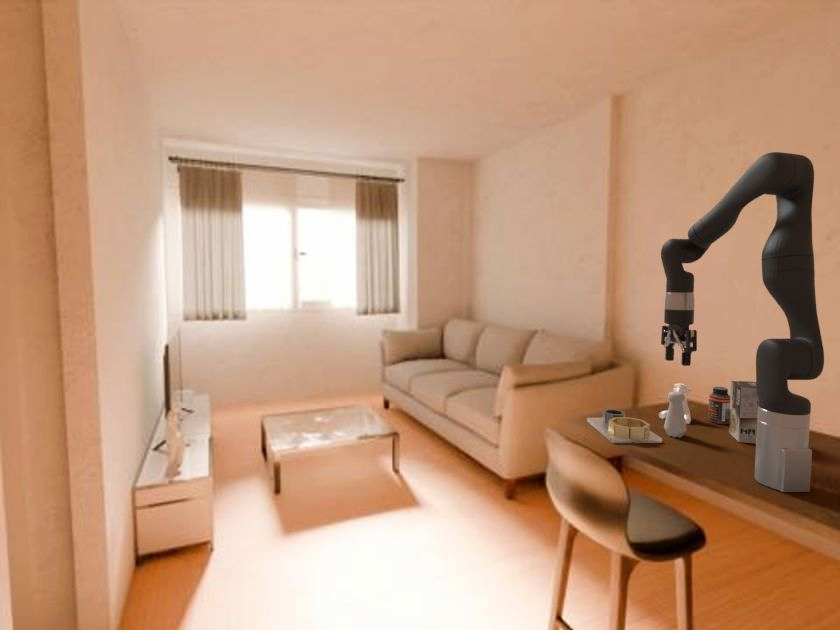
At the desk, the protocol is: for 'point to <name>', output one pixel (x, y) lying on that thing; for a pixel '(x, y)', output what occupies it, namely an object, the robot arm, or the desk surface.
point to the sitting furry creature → (682, 389)
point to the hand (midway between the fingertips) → (677, 362)
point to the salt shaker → (675, 415)
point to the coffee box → (743, 411)
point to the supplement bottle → (719, 406)
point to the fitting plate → (620, 439)
